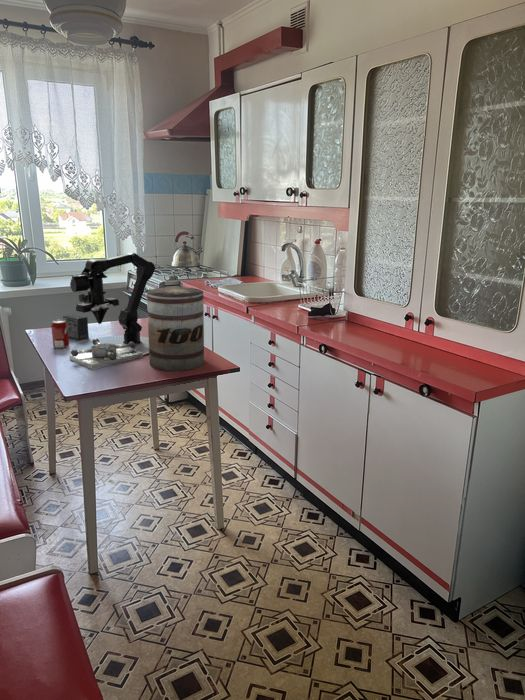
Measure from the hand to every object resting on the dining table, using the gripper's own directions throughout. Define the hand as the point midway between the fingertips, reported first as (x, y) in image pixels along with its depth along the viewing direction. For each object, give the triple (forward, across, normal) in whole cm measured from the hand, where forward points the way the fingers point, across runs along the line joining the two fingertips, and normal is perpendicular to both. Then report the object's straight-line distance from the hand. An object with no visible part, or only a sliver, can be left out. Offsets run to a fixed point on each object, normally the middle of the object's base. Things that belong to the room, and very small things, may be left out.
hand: (99, 323), depth 233 cm
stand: (+12, +7, +12) cm, 18 cm away
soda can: (+12, +10, -16) cm, 22 cm away
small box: (+12, -4, -25) cm, 28 cm away
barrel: (+12, -9, +39) cm, 42 cm away
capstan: (+9, +8, +12) cm, 17 cm away
